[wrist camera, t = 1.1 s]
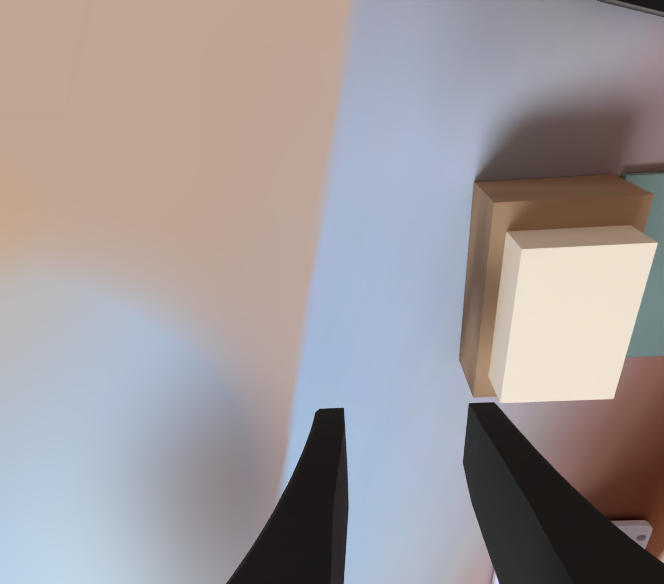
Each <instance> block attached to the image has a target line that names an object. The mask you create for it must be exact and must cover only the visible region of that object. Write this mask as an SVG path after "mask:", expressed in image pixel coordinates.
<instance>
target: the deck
mask: <svg viewBox="0 0 664 584" xmlns="http://www.w3.org/2000/svg"><path fill="white" fill-rule="evenodd" d="M653 197H654V194H653V193H651V192H649V191H647V190H645V189H642V188H640V187H638V186H636V185H634V184H632V183H630V182H628V181H626V180H624V179H622V178H620V177H618V176H616V175H614V174H610V175H591V176H573V177H554V178H536V179H517V180H499V181H480V182H474V188H473V200H472V212H471V224H470V236H469V248H468V260H467V272H466V284H465V296H464V308H463V320H462V332H461V344H460V356H459V361H460V363H461V366H462V369H463V371H464V374H465V377H466V379H467V382H468V385H469V387H470V390H471V393H472V395H473V397H497V395H496V393H495V390H494V388H493V386H492V384H491V381H490V379H489V368H490V360H491V352H492V344H493V336H494V327H495V319H496V311H497V303H498V295H499V286H500V278H501V270H502V262H503V253H504V245H505V237H506V231H524V230H544V229H564V228H584V227H604V226H624V225H631V226H633V227H634V228H636V229H637V230H639V231H640V232H642V233H644V231H645V227H646V223H647V220H648V216H649V212H650V208H651V205H652V201H653Z"/></svg>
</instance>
